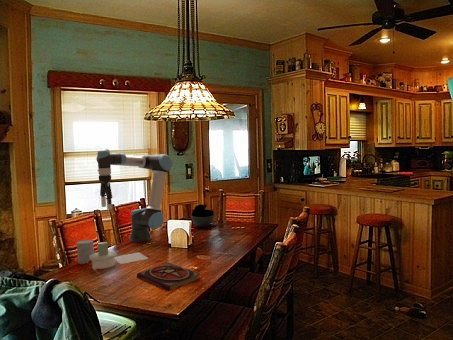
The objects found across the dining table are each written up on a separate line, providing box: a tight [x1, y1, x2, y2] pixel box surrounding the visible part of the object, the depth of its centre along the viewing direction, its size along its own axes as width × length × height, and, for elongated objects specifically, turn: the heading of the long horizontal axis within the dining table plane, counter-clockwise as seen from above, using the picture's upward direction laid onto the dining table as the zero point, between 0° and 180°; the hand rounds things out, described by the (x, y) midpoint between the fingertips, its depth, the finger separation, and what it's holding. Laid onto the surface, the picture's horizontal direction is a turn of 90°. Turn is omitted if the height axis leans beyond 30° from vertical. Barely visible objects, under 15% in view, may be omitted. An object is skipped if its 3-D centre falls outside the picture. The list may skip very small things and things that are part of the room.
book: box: [136, 262, 201, 292], centre depth 192 cm, size 28×21×5 cm
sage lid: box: [89, 241, 118, 261], centre depth 213 cm, size 15×15×8 cm
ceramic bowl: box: [91, 257, 116, 271], centre depth 214 cm, size 12×12×6 cm
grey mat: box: [115, 251, 149, 265], centre depth 227 cm, size 17×17×1 cm
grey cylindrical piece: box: [76, 239, 95, 265], centre depth 226 cm, size 10×10×12 cm
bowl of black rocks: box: [190, 204, 216, 228], centre depth 313 cm, size 20×20×19 cm
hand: (106, 208), depth 236 cm, fingers open, 13 cm apart
